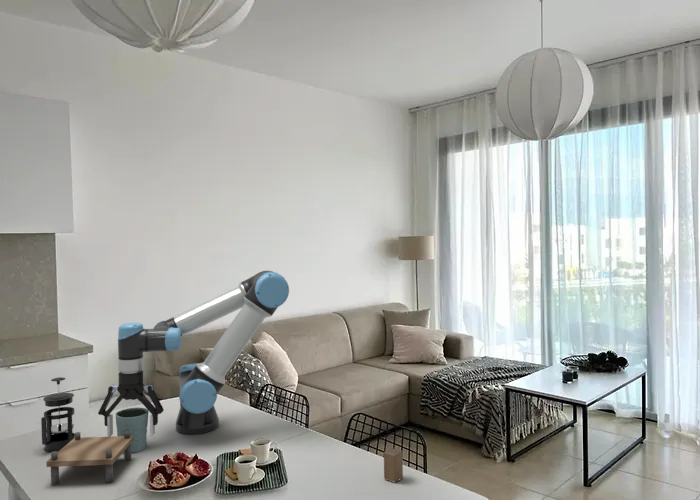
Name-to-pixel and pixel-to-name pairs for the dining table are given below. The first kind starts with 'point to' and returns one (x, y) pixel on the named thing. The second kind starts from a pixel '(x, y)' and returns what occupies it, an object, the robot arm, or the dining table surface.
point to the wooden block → (393, 464)
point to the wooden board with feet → (91, 453)
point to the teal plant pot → (133, 426)
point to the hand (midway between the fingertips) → (131, 435)
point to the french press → (59, 430)
